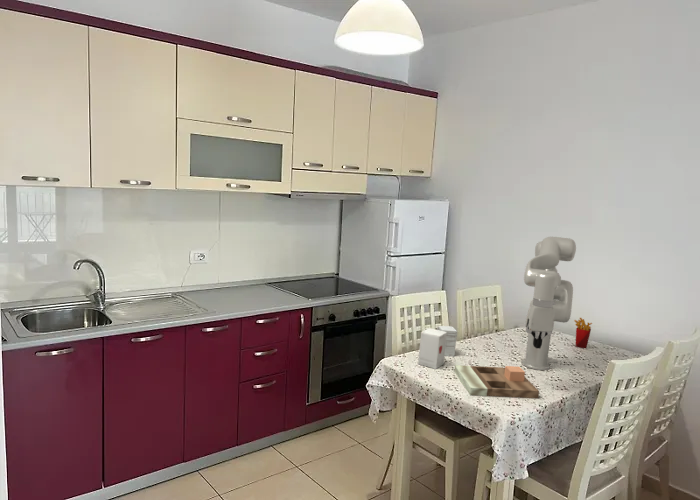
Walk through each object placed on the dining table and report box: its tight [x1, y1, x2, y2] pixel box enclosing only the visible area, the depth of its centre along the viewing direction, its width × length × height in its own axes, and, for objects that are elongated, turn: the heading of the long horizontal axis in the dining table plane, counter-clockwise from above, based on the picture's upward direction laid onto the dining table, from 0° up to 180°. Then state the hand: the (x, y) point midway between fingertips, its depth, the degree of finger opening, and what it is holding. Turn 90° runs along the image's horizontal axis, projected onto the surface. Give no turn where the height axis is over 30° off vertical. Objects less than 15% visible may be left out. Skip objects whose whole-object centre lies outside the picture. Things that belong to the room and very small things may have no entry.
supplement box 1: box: [417, 327, 447, 370], centre depth 229 cm, size 9×9×15 cm
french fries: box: [574, 317, 593, 349], centre depth 272 cm, size 9×8×15 cm
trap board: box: [454, 364, 540, 399], centre depth 212 cm, size 27×24×3 cm
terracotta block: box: [504, 365, 526, 382], centre depth 212 cm, size 6×6×4 cm
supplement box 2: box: [437, 325, 458, 357], centre depth 245 cm, size 7×7×13 cm
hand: (536, 347), depth 210 cm, fingers closed
